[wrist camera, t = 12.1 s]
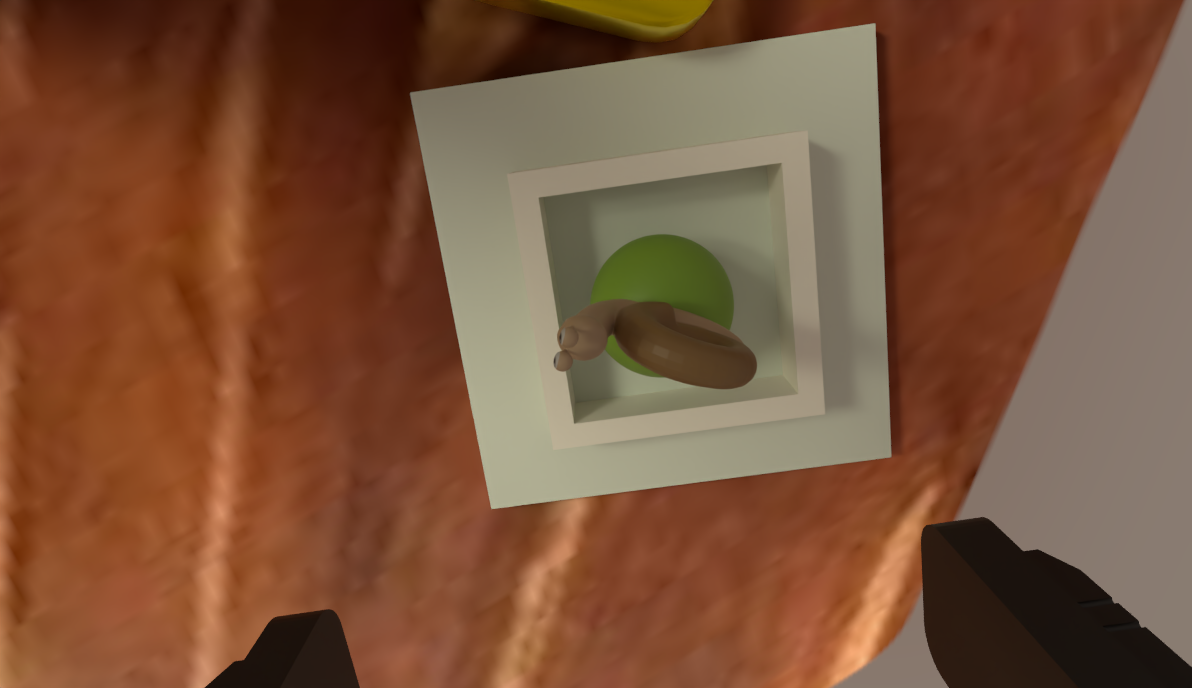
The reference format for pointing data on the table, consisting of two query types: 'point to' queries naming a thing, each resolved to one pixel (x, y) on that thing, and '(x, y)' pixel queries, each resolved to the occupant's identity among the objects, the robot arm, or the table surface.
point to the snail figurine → (661, 316)
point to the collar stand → (676, 207)
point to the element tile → (618, 15)
